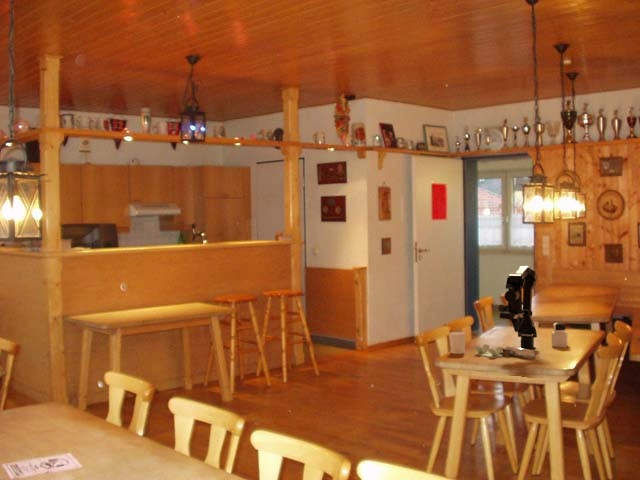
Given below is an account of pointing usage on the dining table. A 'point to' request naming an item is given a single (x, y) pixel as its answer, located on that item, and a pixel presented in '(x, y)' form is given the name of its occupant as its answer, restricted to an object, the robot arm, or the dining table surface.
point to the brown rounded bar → (521, 352)
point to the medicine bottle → (559, 335)
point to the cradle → (492, 353)
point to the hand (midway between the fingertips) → (516, 331)
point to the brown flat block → (506, 352)
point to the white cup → (457, 342)
